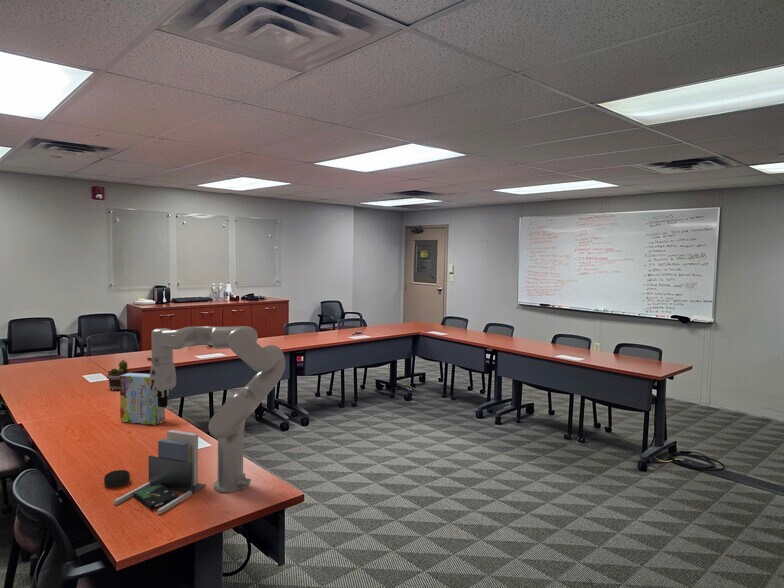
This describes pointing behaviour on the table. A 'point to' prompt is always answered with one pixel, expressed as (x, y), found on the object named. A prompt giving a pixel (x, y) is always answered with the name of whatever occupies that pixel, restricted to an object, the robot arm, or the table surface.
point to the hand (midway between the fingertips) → (162, 406)
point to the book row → (181, 449)
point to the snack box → (139, 400)
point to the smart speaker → (116, 478)
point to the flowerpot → (117, 375)
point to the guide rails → (161, 507)
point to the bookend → (172, 474)
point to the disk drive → (155, 496)
